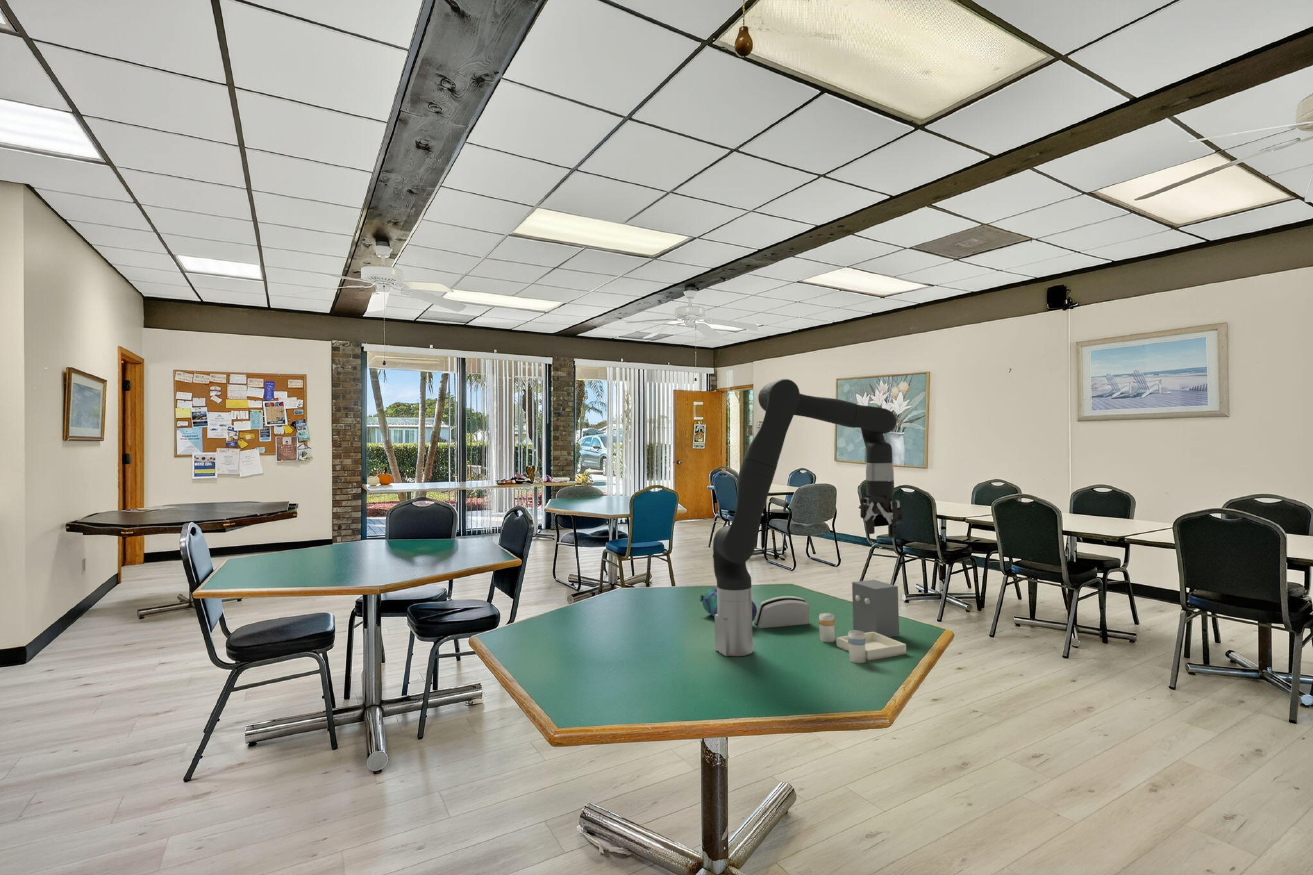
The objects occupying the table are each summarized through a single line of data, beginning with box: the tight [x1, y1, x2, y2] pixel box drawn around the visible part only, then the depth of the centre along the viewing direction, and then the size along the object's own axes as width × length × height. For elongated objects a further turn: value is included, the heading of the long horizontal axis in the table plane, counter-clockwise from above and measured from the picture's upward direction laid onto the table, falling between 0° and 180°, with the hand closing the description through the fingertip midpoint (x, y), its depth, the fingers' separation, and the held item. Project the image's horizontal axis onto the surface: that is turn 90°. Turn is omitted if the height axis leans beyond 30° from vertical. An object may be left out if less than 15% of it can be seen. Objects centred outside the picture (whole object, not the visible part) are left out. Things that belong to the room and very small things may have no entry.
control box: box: [851, 579, 900, 638], centre depth 179 cm, size 9×10×14 cm
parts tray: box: [836, 632, 907, 662], centre depth 163 cm, size 12×12×2 cm
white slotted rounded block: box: [753, 595, 810, 629], centre depth 188 cm, size 17×5×10 cm, turn 103°
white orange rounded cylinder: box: [818, 612, 836, 643], centre depth 173 cm, size 4×4×7 cm
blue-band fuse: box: [847, 630, 867, 664], centre depth 155 cm, size 4×4×7 cm
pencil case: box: [699, 585, 758, 623], centre depth 194 cm, size 21×9×10 cm, turn 26°
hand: (881, 535), depth 175 cm, fingers open, 8 cm apart
